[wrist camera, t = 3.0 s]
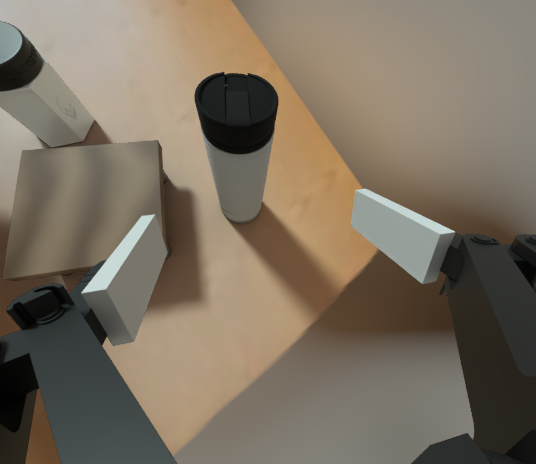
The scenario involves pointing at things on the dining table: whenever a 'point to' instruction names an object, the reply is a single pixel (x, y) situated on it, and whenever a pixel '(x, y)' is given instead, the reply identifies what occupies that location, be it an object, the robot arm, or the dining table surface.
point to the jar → (38, 92)
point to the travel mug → (238, 138)
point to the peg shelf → (81, 205)
